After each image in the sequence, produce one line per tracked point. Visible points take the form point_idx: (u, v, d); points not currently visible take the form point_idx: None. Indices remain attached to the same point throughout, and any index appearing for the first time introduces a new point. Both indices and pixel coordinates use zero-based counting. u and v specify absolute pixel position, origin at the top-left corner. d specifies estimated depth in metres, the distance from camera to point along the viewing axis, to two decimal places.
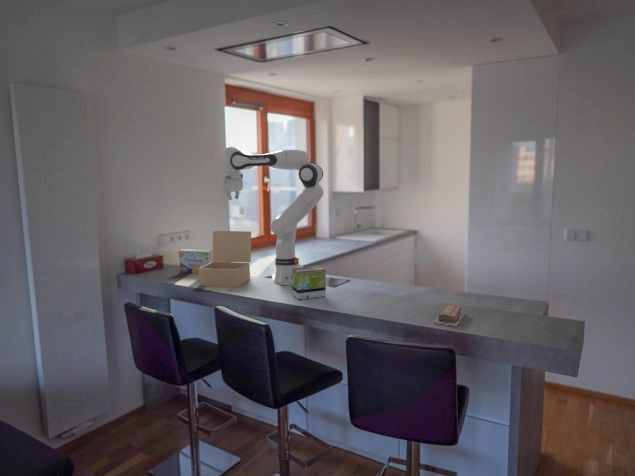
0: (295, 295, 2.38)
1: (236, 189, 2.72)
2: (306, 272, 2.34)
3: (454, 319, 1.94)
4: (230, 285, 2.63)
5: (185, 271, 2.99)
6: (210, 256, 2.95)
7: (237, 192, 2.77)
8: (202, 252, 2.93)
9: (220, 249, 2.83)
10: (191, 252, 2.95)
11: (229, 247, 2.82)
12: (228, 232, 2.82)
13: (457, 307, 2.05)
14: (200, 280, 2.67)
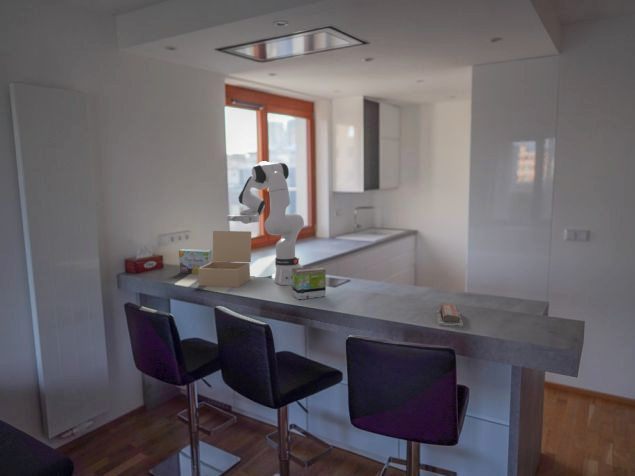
0: (295, 295, 2.38)
1: (242, 215, 2.95)
2: (306, 272, 2.34)
3: (458, 319, 1.94)
4: (230, 285, 2.63)
5: (185, 271, 2.99)
6: (210, 256, 2.95)
7: (247, 218, 2.93)
8: (202, 252, 2.93)
9: (220, 249, 2.83)
10: (191, 252, 2.95)
11: (229, 247, 2.82)
12: (228, 232, 2.82)
13: (454, 306, 2.06)
14: (200, 280, 2.67)
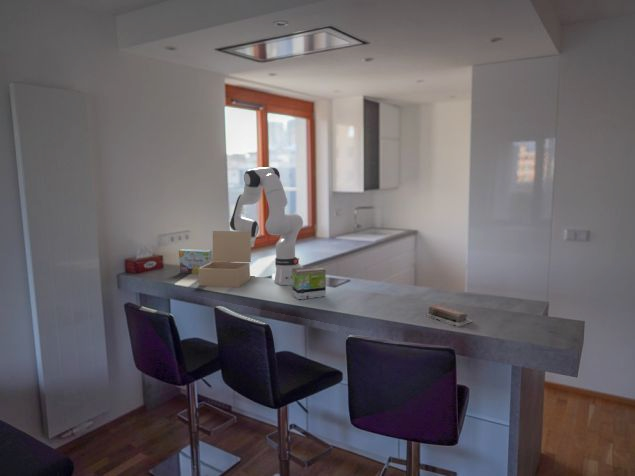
0: (295, 295, 2.38)
1: None
2: (306, 272, 2.34)
3: (466, 316, 1.98)
4: (230, 285, 2.63)
5: (185, 271, 2.99)
6: (210, 256, 2.95)
7: None
8: (202, 252, 2.93)
9: (220, 249, 2.83)
10: (191, 252, 2.95)
11: (229, 247, 2.81)
12: (228, 232, 2.82)
13: (443, 306, 2.07)
14: (200, 280, 2.67)
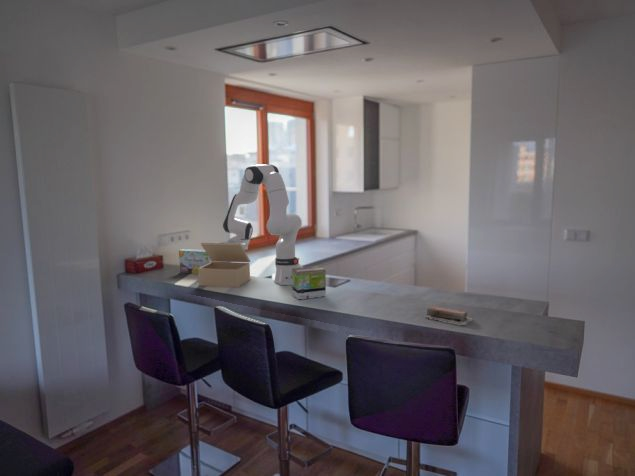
0: (295, 295, 2.38)
1: None
2: (306, 272, 2.34)
3: None
4: (230, 285, 2.63)
5: (185, 271, 2.99)
6: None
7: None
8: (202, 252, 2.93)
9: (216, 255, 2.77)
10: (191, 252, 2.95)
11: (224, 253, 2.75)
12: (217, 245, 2.67)
13: (440, 307, 2.06)
14: (200, 280, 2.67)
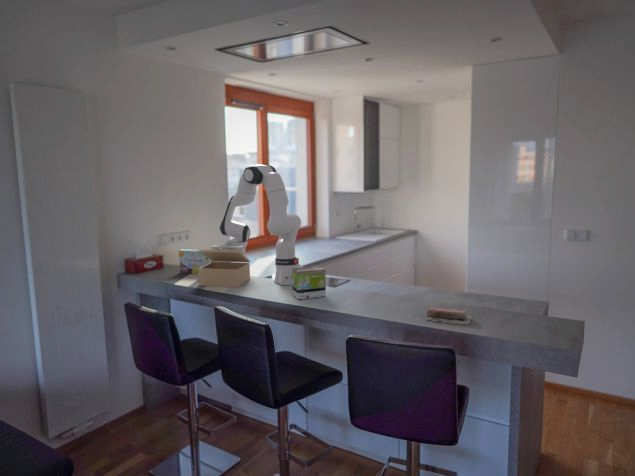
0: (295, 295, 2.38)
1: (227, 246, 2.74)
2: (306, 272, 2.34)
3: None
4: (230, 285, 2.63)
5: (185, 271, 2.99)
6: None
7: (226, 249, 2.72)
8: None
9: (215, 257, 2.76)
10: (191, 252, 2.95)
11: (223, 257, 2.74)
12: (215, 252, 2.65)
13: None
14: (200, 280, 2.67)
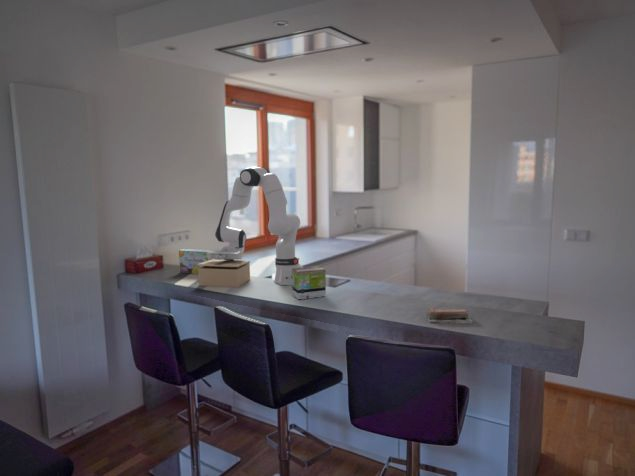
0: (295, 295, 2.38)
1: (224, 252, 2.70)
2: (306, 272, 2.34)
3: None
4: (230, 285, 2.63)
5: (185, 271, 2.99)
6: None
7: None
8: (202, 252, 2.93)
9: None
10: (191, 252, 2.95)
11: None
12: None
13: None
14: (200, 280, 2.67)
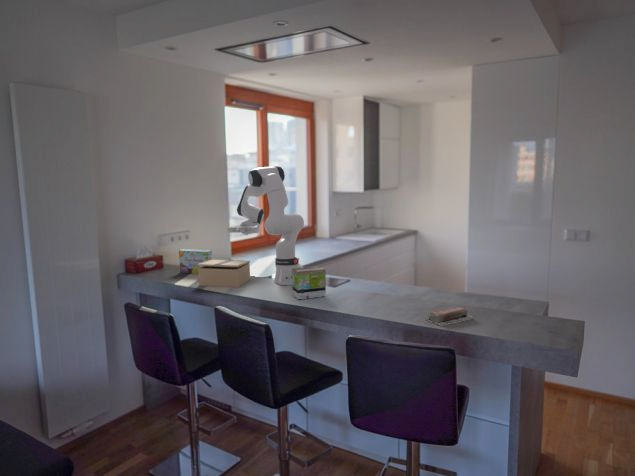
0: (295, 295, 2.38)
1: (243, 226, 2.96)
2: (306, 272, 2.34)
3: None
4: (230, 285, 2.63)
5: (185, 271, 2.99)
6: (210, 256, 2.95)
7: None
8: (202, 252, 2.93)
9: None
10: (191, 252, 2.95)
11: None
12: None
13: (436, 311, 2.00)
14: (200, 280, 2.67)
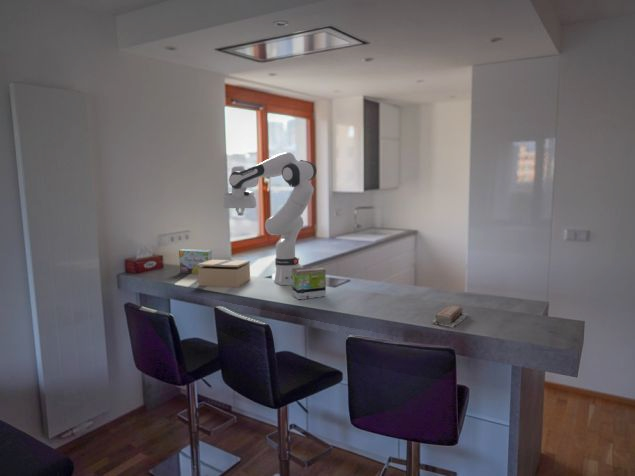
0: (295, 295, 2.38)
1: (240, 206, 2.84)
2: (306, 272, 2.34)
3: None
4: (230, 285, 2.63)
5: (185, 271, 2.99)
6: (210, 256, 2.95)
7: (241, 209, 2.85)
8: (202, 252, 2.93)
9: None
10: (191, 252, 2.95)
11: None
12: None
13: (440, 313, 1.98)
14: (200, 280, 2.67)
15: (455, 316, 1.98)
